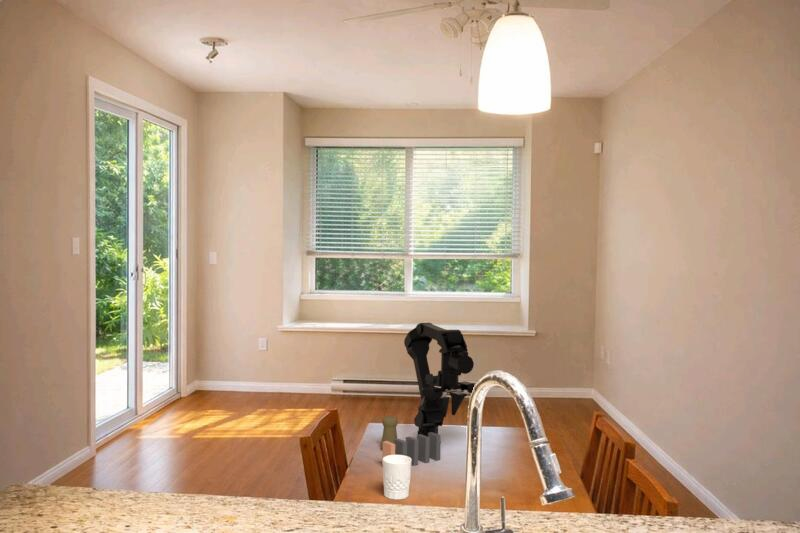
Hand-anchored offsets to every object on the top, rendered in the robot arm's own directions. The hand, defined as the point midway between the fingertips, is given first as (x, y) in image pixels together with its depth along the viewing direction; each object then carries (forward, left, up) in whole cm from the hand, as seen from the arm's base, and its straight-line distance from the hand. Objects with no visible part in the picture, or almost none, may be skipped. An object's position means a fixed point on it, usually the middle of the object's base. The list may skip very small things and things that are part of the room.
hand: (448, 415), depth 221 cm
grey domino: (+10, 0, -13) cm, 17 cm away
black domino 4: (+19, 0, -13) cm, 23 cm away
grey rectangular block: (+15, 0, -13) cm, 20 cm away
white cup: (+35, +19, -13) cm, 42 cm away
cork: (+12, -16, -13) cm, 24 cm away
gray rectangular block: (+6, 0, -13) cm, 14 cm away
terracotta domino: (+24, 0, -13) cm, 27 cm away
